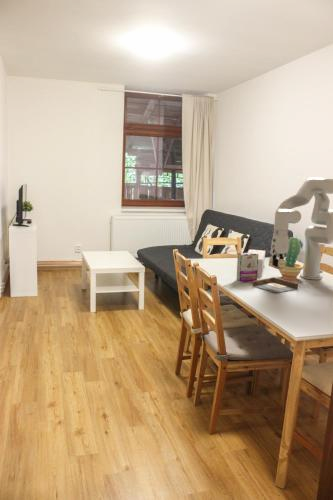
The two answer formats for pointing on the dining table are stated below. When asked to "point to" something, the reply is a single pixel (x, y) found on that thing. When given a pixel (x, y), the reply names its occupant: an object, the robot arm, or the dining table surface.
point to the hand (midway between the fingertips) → (277, 265)
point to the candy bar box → (247, 267)
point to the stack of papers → (259, 260)
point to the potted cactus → (292, 260)
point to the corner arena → (275, 285)
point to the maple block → (280, 263)
